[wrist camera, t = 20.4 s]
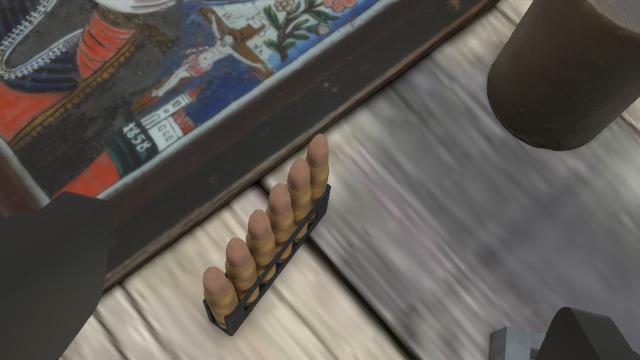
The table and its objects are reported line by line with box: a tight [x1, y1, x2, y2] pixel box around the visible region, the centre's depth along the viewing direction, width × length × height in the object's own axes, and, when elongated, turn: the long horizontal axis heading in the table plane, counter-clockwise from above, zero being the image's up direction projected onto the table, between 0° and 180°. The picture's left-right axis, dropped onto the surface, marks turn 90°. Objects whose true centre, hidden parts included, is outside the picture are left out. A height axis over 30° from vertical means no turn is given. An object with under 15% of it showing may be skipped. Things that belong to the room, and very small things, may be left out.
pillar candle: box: [488, 0, 640, 150], centre depth 40 cm, size 10×10×15 cm
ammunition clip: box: [203, 134, 331, 336], centre depth 34 cm, size 11×2×12 cm, turn 145°
